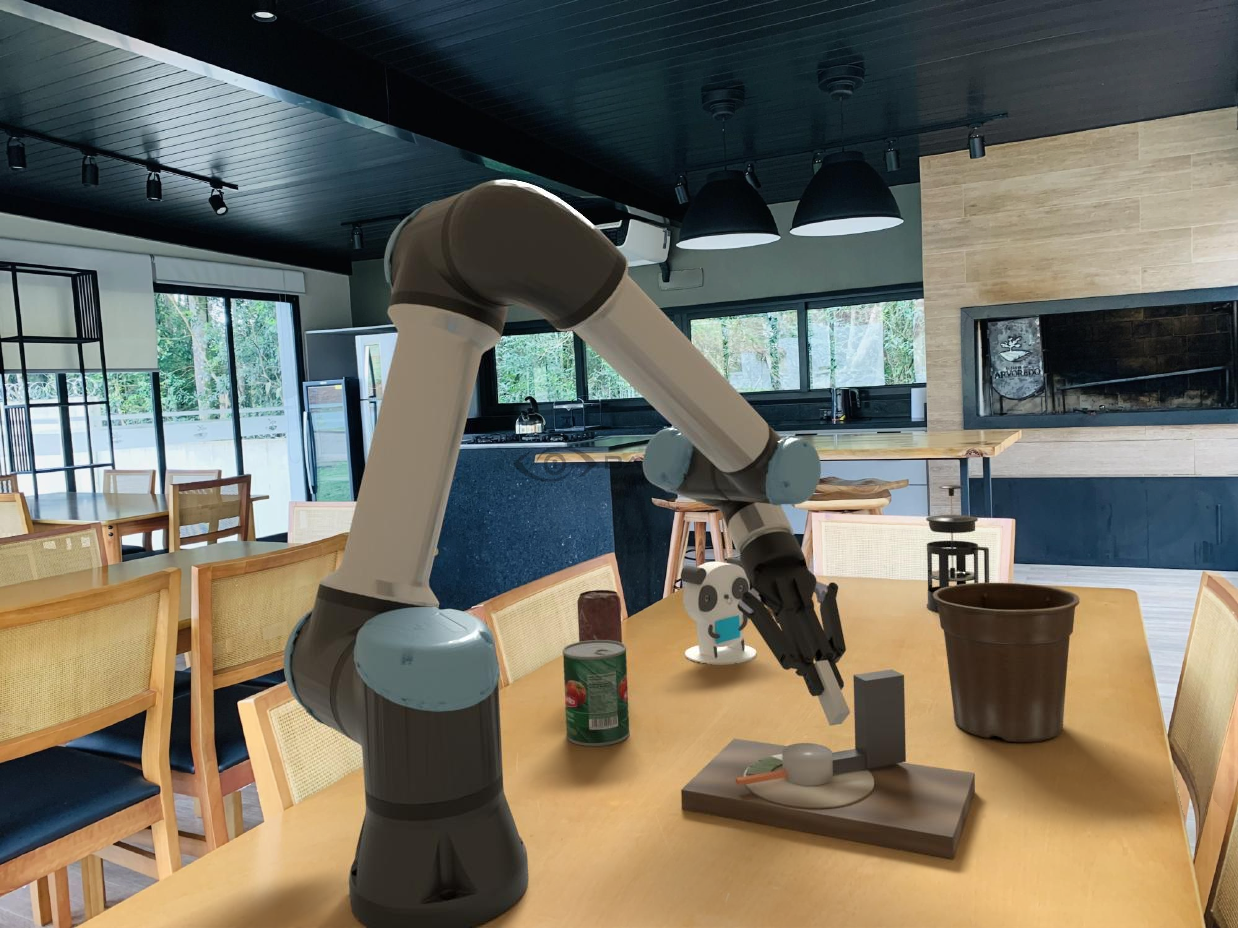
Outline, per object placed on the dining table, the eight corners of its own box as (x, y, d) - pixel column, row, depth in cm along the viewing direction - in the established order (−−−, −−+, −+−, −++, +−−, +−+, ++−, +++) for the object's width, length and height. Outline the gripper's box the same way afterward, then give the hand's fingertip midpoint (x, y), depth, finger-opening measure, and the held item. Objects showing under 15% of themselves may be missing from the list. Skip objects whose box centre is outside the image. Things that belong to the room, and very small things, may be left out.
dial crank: (748, 797, 90) (745, 703, 89) (727, 777, 94) (724, 688, 94) (913, 767, 95) (912, 678, 94) (886, 750, 100) (884, 665, 99)
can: (621, 696, 129) (616, 597, 128) (577, 695, 131) (572, 597, 130) (629, 683, 135) (625, 588, 134) (587, 682, 137) (582, 588, 136)
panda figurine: (715, 670, 140) (711, 572, 139) (667, 655, 149) (663, 563, 148) (771, 654, 147) (768, 561, 146) (722, 641, 156) (719, 553, 155)
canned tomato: (553, 735, 116) (549, 648, 115) (602, 719, 121) (599, 636, 120) (593, 752, 110) (589, 660, 109) (643, 734, 115) (639, 647, 114)
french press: (915, 609, 172) (912, 486, 170) (934, 600, 179) (932, 481, 178) (979, 617, 165) (977, 488, 163) (996, 606, 172) (995, 483, 170)
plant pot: (907, 715, 117) (905, 589, 116) (1008, 696, 123) (1006, 576, 122) (1002, 760, 102) (1000, 616, 101) (1112, 736, 108) (1111, 599, 107)
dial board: (953, 859, 81) (952, 831, 81) (681, 808, 93) (680, 784, 93) (974, 791, 94) (974, 767, 94) (734, 755, 107) (734, 734, 106)
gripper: (803, 559, 121) (878, 726, 106) (711, 569, 117) (775, 743, 102) (823, 524, 115) (905, 694, 101) (727, 532, 112) (797, 711, 97)
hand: (839, 718), depth 102 cm, fingers closed
